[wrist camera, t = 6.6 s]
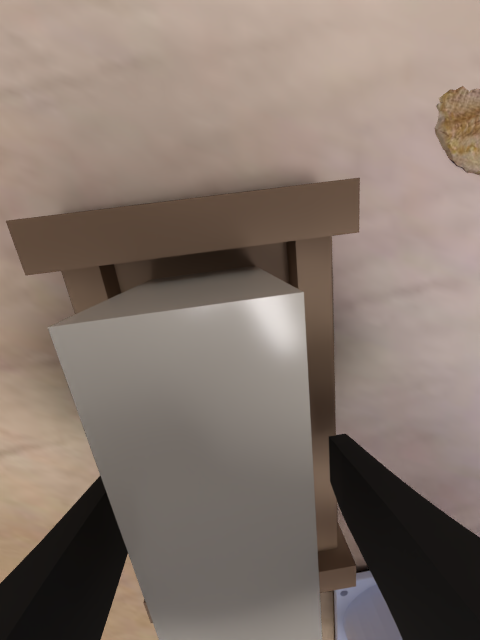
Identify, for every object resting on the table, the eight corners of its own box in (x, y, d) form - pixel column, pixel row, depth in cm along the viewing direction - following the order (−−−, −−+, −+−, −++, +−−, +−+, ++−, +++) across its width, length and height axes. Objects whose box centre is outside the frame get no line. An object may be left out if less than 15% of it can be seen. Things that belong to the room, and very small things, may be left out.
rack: (330, 522, 15) (356, 586, 12) (164, 550, 15) (150, 623, 12) (320, 197, 10) (359, 177, 7) (68, 228, 10) (5, 220, 7)
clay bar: (281, 514, 13) (326, 713, 8) (206, 526, 13) (194, 739, 8) (255, 265, 10) (304, 291, 4) (151, 279, 10) (47, 327, 4)
